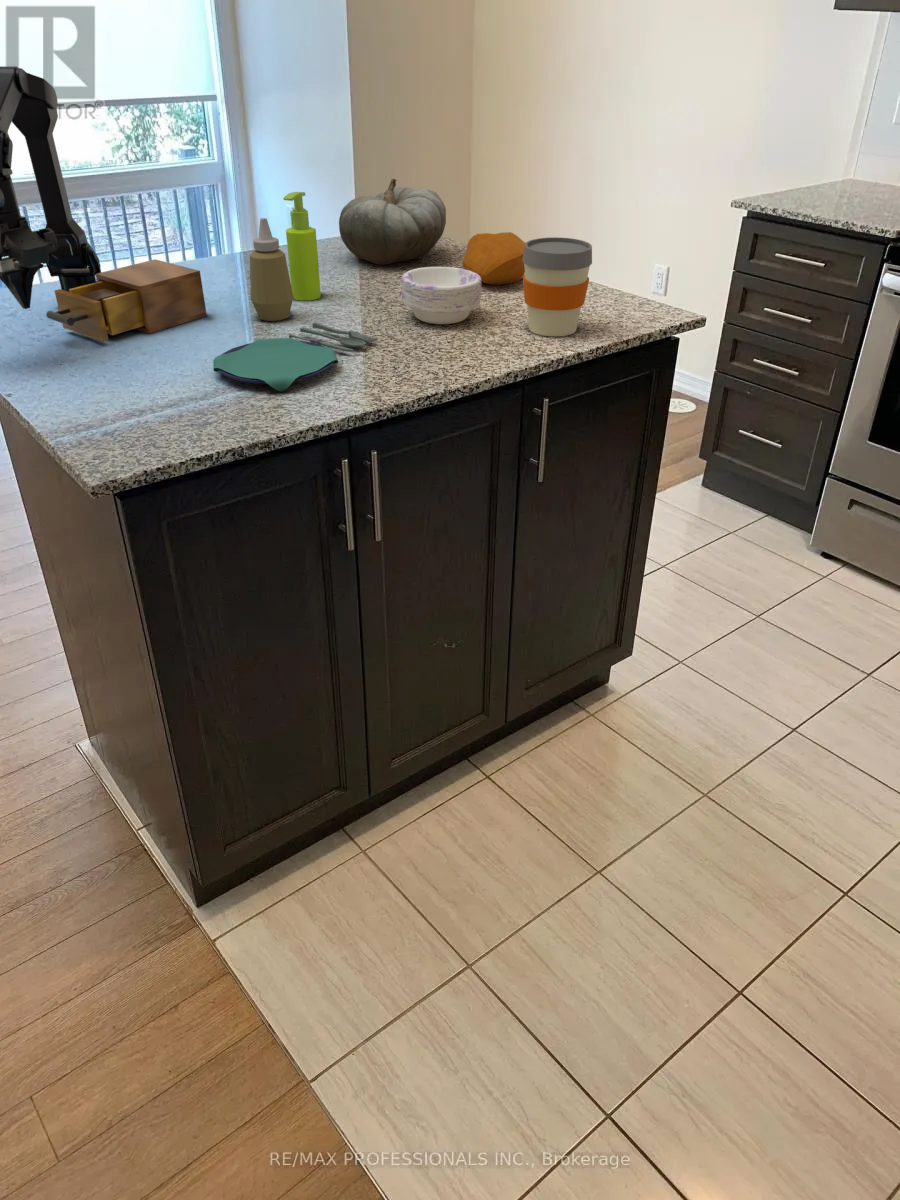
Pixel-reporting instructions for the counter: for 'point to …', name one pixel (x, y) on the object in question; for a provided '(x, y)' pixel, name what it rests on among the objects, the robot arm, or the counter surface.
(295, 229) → the soap dispenser
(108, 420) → the counter surface
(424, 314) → the paper bowls
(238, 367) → the cutlery set
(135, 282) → the cabinet
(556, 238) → the reusable coffee cup
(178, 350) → the counter surface
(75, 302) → the drawer
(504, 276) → the bread
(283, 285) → the squeeze bottle
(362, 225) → the gourd
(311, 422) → the counter surface
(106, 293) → the block
